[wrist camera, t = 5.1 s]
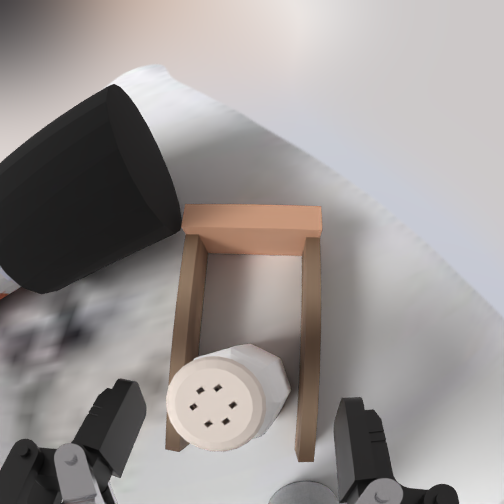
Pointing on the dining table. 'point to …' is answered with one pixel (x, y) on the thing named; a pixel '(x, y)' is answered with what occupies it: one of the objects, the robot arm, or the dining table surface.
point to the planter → (304, 494)
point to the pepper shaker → (227, 397)
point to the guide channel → (258, 243)
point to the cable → (82, 195)
